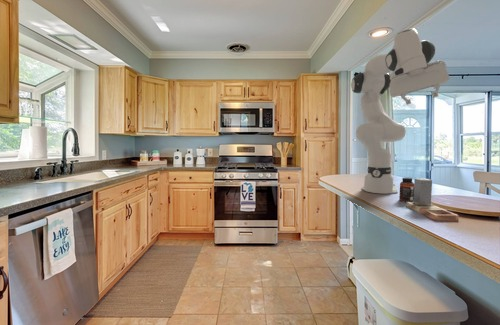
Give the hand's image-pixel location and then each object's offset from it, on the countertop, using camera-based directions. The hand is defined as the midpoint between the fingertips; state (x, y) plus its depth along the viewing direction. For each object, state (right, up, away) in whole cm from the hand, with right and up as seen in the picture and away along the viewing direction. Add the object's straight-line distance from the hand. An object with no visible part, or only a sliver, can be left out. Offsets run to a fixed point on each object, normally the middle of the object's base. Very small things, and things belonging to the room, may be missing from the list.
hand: (422, 100), depth 102 cm
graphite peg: (+4, -45, +6) cm, 46 cm away
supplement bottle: (+6, -44, +20) cm, 49 cm away
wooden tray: (+4, -46, +1) cm, 46 cm away
